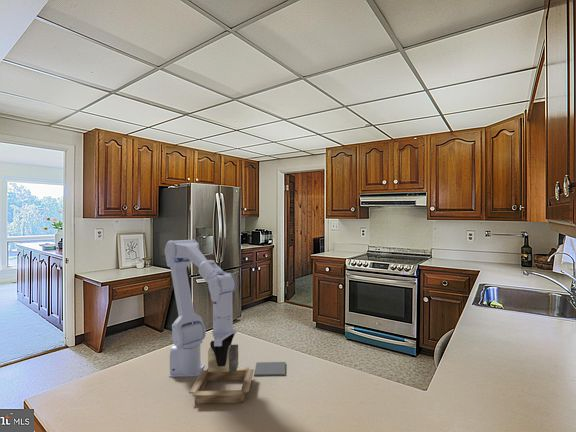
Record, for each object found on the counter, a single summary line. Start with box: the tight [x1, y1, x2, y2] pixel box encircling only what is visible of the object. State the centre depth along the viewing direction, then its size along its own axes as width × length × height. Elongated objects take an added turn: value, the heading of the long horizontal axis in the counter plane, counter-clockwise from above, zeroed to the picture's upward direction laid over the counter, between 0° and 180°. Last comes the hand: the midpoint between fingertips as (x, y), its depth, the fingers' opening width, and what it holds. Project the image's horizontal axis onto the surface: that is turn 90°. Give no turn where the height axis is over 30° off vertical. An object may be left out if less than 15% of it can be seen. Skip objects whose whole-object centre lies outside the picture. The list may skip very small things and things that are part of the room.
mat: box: [253, 361, 286, 377], centre depth 107 cm, size 10×9×1 cm
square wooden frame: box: [188, 366, 255, 404], centre depth 94 cm, size 16×16×3 cm
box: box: [207, 344, 239, 372], centre depth 94 cm, size 8×4×6 cm, turn 90°
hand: (223, 362), depth 94 cm, fingers closed on box, 4 cm apart
